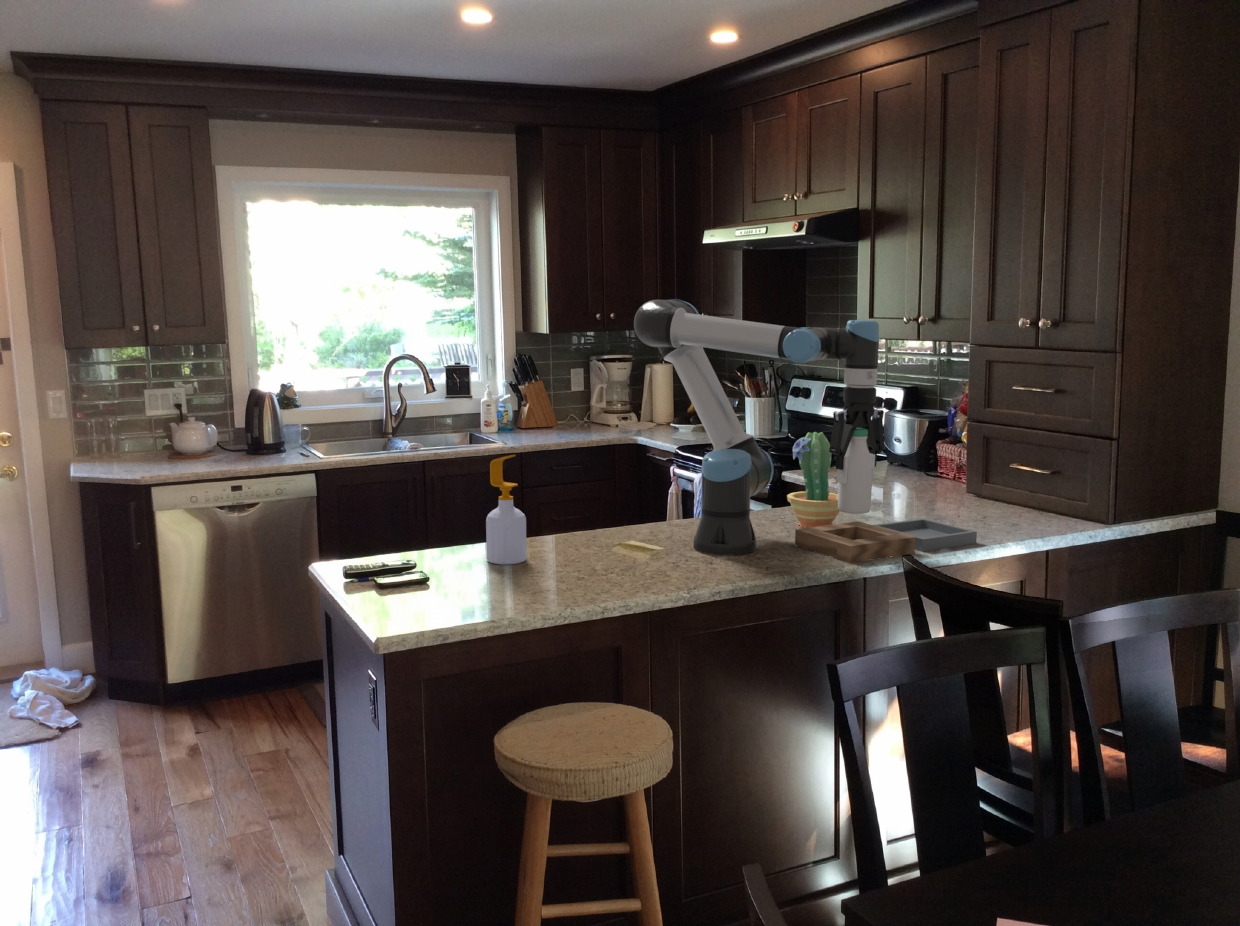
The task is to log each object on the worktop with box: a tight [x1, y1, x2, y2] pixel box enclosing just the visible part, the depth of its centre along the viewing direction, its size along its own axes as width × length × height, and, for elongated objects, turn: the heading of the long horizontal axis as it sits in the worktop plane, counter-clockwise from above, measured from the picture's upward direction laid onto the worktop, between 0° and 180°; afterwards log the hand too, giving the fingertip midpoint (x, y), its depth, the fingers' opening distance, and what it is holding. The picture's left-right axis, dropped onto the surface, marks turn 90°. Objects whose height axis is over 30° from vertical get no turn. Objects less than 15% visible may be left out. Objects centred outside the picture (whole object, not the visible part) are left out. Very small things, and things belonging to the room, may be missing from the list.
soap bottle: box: [485, 454, 527, 566], centre depth 240 cm, size 9×9×25 cm
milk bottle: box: [837, 427, 873, 515], centre depth 251 cm, size 8×8×20 cm
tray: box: [872, 518, 978, 552], centre depth 264 cm, size 18×18×3 cm
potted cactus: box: [786, 431, 840, 528], centre depth 279 cm, size 15×15×25 cm
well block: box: [794, 521, 916, 564], centre depth 254 cm, size 20×20×4 cm
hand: (855, 481), depth 252 cm, fingers closed on milk bottle, 8 cm apart
